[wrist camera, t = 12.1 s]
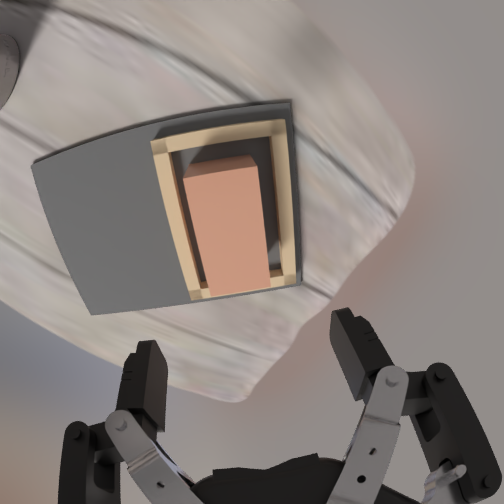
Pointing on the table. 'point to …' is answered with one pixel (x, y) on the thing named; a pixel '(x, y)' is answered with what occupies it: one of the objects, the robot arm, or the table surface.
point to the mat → (164, 206)
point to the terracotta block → (228, 223)
